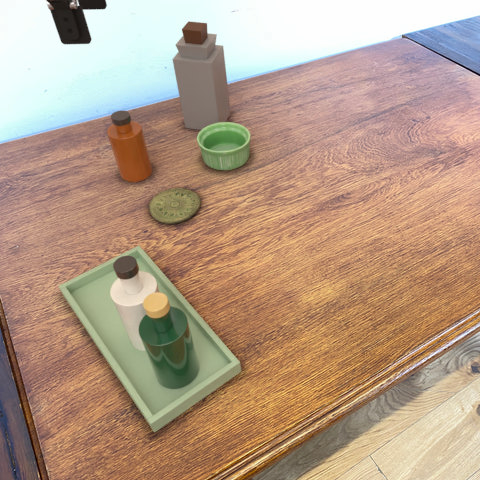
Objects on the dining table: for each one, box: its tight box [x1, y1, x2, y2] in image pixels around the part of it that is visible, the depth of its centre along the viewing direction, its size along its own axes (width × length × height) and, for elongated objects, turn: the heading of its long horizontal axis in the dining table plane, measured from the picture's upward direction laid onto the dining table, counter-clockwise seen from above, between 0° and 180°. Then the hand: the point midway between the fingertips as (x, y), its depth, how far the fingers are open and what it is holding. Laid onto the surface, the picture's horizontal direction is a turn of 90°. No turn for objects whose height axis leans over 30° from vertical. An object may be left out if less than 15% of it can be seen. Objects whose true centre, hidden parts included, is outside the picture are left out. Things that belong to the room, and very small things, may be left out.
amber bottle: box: [106, 110, 153, 183], centre depth 82 cm, size 5×5×11 cm
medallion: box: [148, 187, 202, 225], centre depth 80 cm, size 8×8×1 cm
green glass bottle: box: [139, 292, 199, 389], centre depth 55 cm, size 5×5×13 cm
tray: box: [58, 245, 242, 433], centre depth 63 cm, size 24×11×2 cm, turn 42°
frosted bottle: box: [110, 256, 160, 351], centre depth 58 cm, size 5×5×13 cm
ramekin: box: [196, 121, 252, 171], centre depth 88 cm, size 9×9×4 cm
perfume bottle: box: [172, 21, 232, 131], centre depth 91 cm, size 7×7×18 cm
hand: (86, 24), depth 61 cm, fingers open, 9 cm apart
